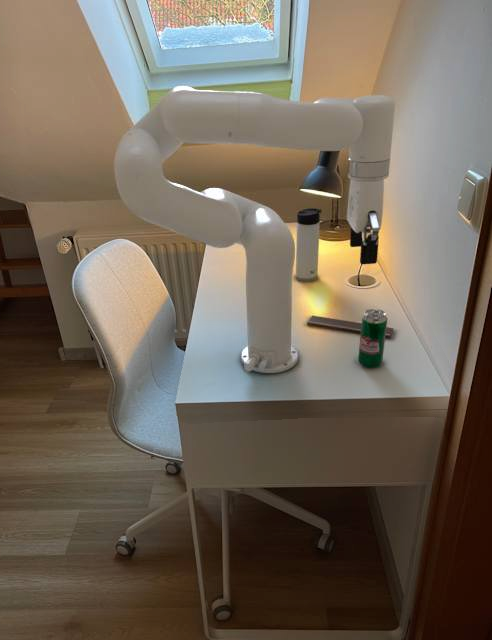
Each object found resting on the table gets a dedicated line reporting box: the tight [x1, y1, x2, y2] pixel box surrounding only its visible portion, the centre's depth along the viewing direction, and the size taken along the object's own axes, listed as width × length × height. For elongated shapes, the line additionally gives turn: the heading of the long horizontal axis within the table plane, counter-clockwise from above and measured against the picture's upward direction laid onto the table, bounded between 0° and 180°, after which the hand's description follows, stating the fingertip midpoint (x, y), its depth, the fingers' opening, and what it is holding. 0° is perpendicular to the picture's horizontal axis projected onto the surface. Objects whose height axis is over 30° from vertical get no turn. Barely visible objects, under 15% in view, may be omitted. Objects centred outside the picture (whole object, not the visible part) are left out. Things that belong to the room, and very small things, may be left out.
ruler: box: [306, 315, 394, 340], centre depth 132 cm, size 4×20×1 cm, turn 65°
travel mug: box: [295, 207, 322, 283], centre depth 154 cm, size 6×7×20 cm
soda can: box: [357, 308, 388, 369], centre depth 115 cm, size 5×5×12 cm
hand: (362, 254), depth 112 cm, fingers open, 9 cm apart
